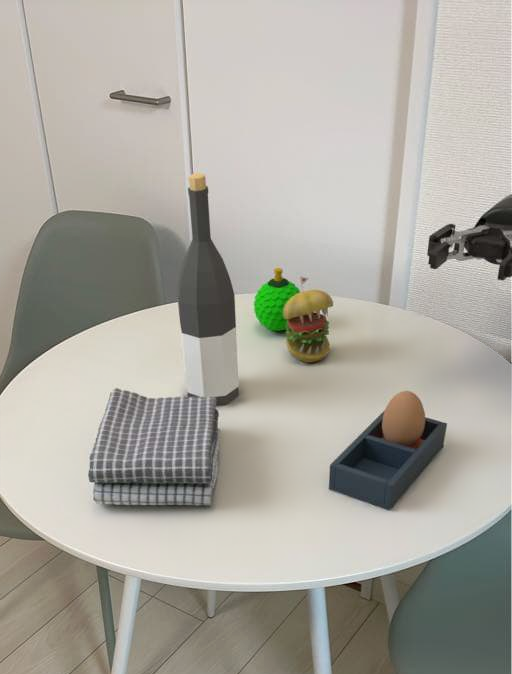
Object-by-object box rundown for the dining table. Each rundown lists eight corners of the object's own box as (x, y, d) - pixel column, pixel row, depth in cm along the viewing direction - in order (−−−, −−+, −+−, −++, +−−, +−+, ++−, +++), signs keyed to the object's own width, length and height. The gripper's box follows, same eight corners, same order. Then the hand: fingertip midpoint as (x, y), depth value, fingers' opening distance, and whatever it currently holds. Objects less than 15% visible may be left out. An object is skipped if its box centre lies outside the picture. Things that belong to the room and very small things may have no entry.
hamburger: (299, 371, 114) (300, 294, 106) (273, 353, 119) (272, 279, 111) (340, 357, 117) (344, 281, 109) (313, 340, 122) (315, 267, 114)
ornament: (303, 338, 122) (305, 278, 116) (254, 340, 123) (252, 280, 117) (302, 317, 129) (303, 259, 122) (254, 319, 129) (253, 261, 123)
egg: (402, 463, 93) (409, 408, 88) (371, 447, 96) (376, 392, 91) (429, 447, 95) (438, 392, 90) (398, 431, 99) (404, 377, 93)
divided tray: (443, 447, 97) (447, 423, 94) (389, 510, 88) (392, 485, 85) (385, 429, 101) (388, 406, 98) (328, 489, 91) (329, 464, 89)
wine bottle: (175, 390, 112) (152, 175, 93) (222, 375, 115) (210, 162, 96) (201, 413, 107) (182, 189, 87) (250, 396, 109) (242, 175, 90)
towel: (92, 515, 91) (80, 461, 86) (112, 432, 104) (103, 382, 99) (217, 511, 89) (213, 457, 84) (221, 428, 103) (218, 377, 98)
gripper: (465, 191, 102) (415, 227, 93) (574, 203, 95) (532, 243, 86) (457, 247, 107) (408, 286, 98) (561, 262, 100) (519, 306, 91)
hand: (466, 266), depth 92 cm, fingers open, 8 cm apart
